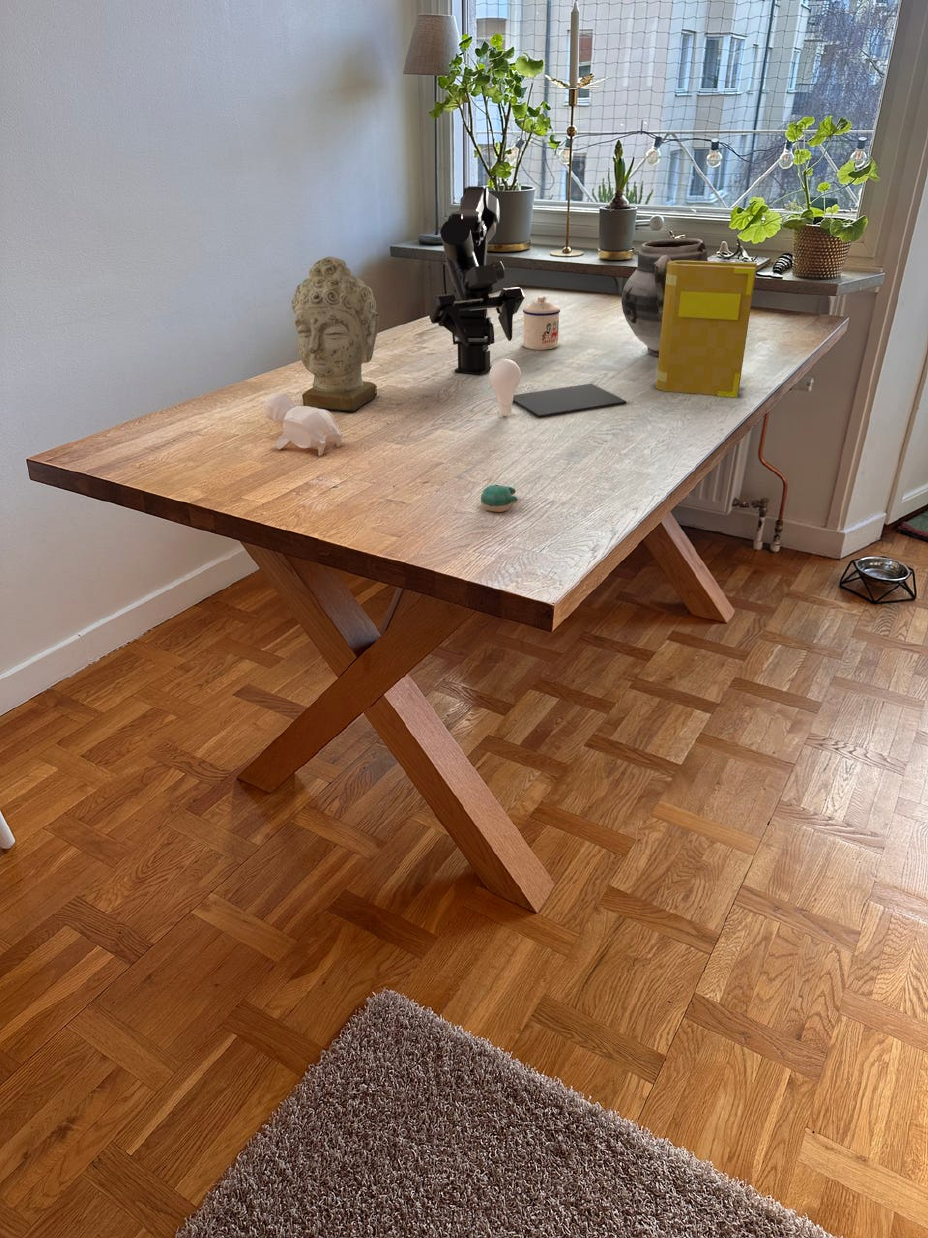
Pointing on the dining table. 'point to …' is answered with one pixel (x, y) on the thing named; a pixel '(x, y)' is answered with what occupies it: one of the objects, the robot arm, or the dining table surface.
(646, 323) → the ceramic pot
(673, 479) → the dining table surface
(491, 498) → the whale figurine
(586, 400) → the mat
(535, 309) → the teacup with lid
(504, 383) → the lightbulb
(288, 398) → the white turtle figurine
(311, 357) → the buddha head
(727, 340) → the book
